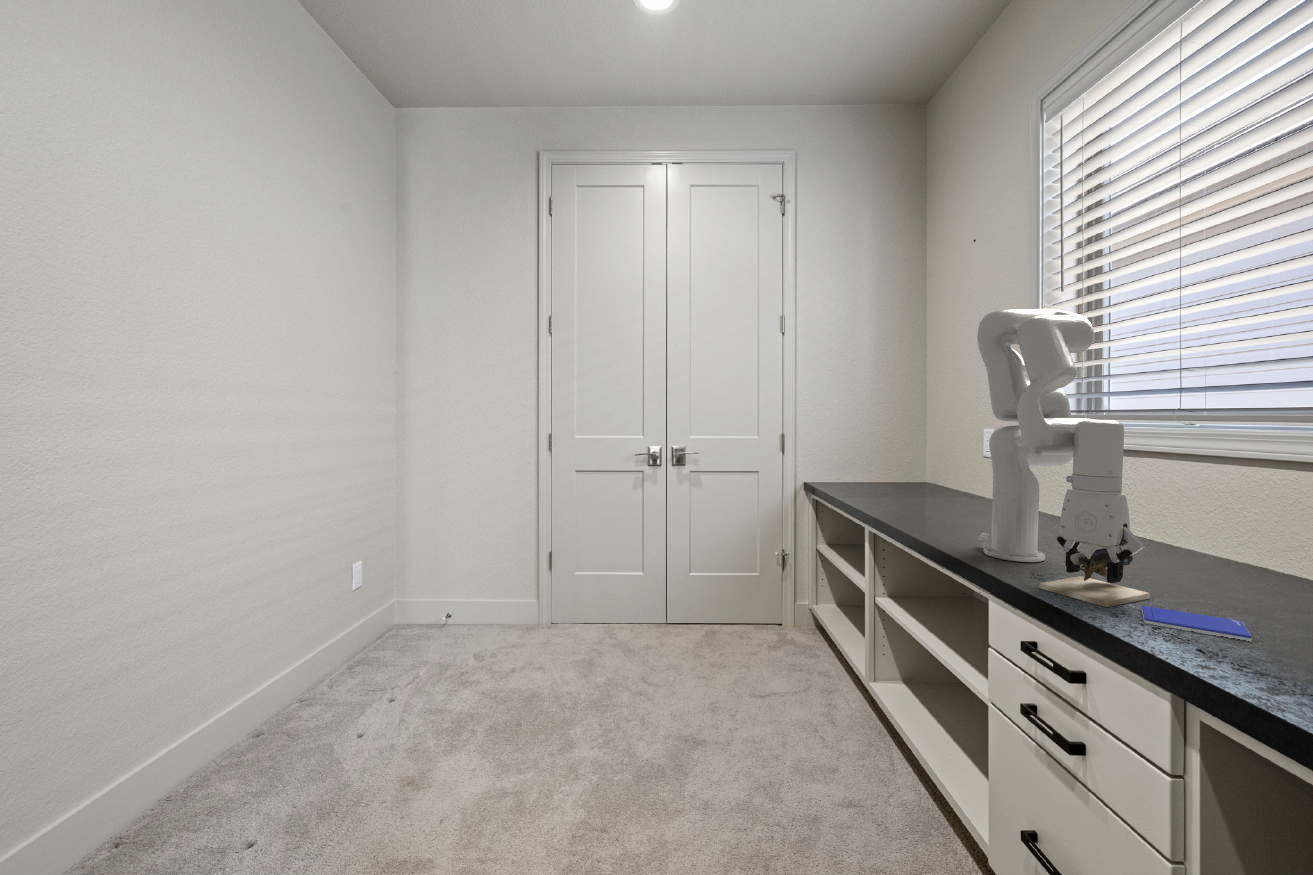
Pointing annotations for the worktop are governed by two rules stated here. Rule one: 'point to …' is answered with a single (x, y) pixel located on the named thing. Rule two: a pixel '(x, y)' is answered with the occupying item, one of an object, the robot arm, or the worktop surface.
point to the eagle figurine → (1095, 562)
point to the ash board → (1094, 591)
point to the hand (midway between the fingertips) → (1092, 576)
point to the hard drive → (1196, 623)
